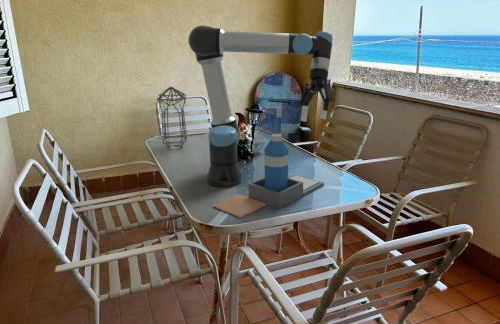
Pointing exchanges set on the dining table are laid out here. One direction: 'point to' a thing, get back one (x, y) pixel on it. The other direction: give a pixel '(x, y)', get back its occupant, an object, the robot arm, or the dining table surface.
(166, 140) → the geometric lantern
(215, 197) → the dining table surface
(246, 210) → the terracotta tile
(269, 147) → the water bottle
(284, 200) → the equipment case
